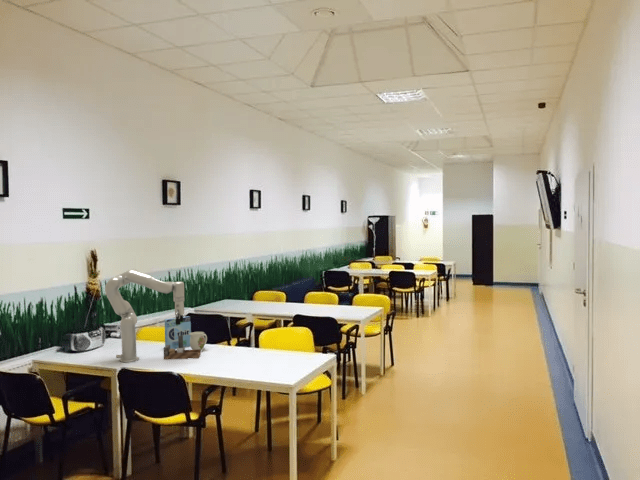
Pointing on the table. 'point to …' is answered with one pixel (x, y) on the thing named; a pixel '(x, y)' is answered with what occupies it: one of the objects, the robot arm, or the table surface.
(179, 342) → the jaw
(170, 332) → the gum box
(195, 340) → the pitcher
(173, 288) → the robot arm
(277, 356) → the table surface
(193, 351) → the bench
